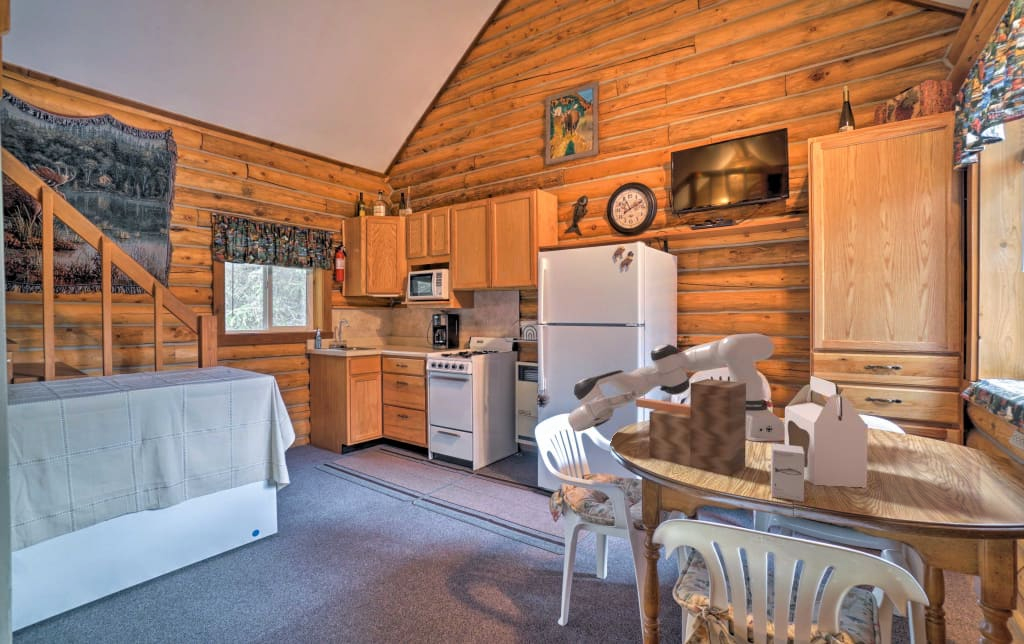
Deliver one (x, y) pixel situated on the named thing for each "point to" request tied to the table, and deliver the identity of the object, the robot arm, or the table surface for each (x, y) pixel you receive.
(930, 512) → the table surface
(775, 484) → the supplement box
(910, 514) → the table surface
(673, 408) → the bar
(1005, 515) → the table surface
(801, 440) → the gable box
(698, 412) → the stepped stand
